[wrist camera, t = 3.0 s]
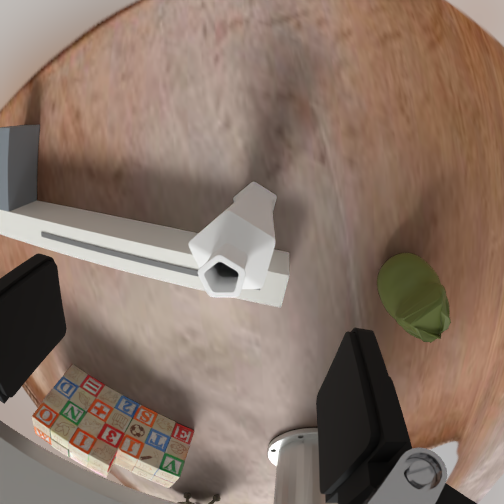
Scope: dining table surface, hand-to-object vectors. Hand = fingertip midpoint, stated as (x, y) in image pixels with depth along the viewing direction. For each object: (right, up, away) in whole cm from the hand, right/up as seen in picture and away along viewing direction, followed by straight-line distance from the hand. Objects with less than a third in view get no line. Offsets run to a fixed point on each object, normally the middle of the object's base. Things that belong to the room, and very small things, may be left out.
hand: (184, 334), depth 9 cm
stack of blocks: (-17, -22, +33) cm, 43 cm away
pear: (+16, +1, +20) cm, 26 cm away
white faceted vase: (+2, +7, +19) cm, 20 cm away
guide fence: (-10, +9, +20) cm, 23 cm away
